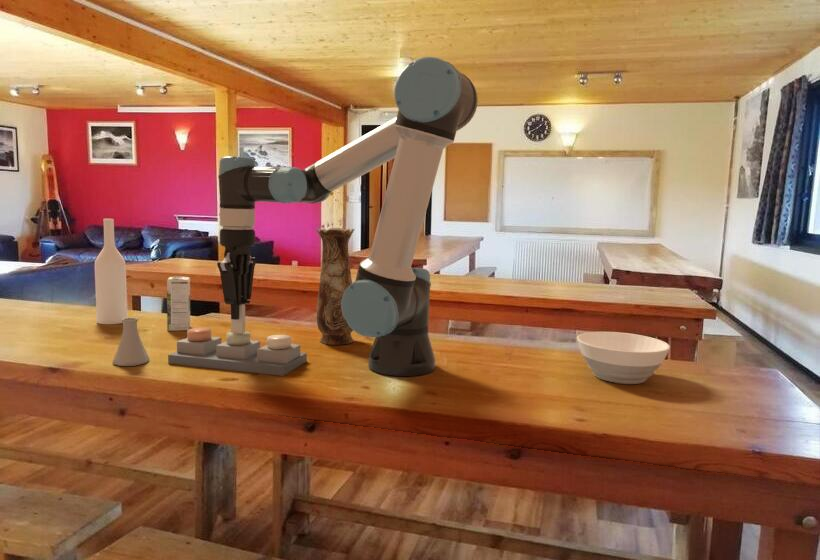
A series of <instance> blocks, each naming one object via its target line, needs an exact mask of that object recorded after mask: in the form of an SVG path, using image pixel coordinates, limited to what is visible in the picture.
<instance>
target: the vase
mask: <svg viewBox="0 0 820 560" xmlns="http://www.w3.org/2000/svg"><path fill="white" fill-rule="evenodd" d="M315 230H316V231H317V233H318V235H319V237H320V239H321V241H322V245H321V246H322V250H321V251H322V252H321V253H322V254H321V255H322V256H321V267H320V278H319V284H318V295H317V304H316V324H317V329H318V331H319V332H320V333H321V337H320V341H319V342H320V343H322V344H324V345H329V346H330V345H332V346H333V345H334V346H337V345H339V346H340V345H347V344H352V343H353V342H354V339H353V337H352V332H353V331H354V330H352V329H351V328H350V327H349V325H348V323H347V322H346V320H345V319H344V317H343V314H342V309H341V301H342V296H343V294H344V292H345V290H346V289H347V288H348V287H349V285H351V284H352V283H353V279H352V272H351V264H350V255H349V240H350V239H351V236H352V235H353V233H354V231H355V228H346V229H344V228H342V227H330V228H328V229H325V228H321V229H320V228H318V227H317V228H316V229H315Z"/></svg>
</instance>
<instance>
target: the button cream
mask: <svg viewBox="0 0 820 560" xmlns="http://www.w3.org/2000/svg"><path fill="white" fill-rule="evenodd" d="M291 344H292V336H290V335H287V334H272V335H269V336H267V337H266V345H267V347H268V348H271V349H282V350H283V349H286V348H289V347H291Z"/></svg>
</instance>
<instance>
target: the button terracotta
mask: <svg viewBox="0 0 820 560" xmlns="http://www.w3.org/2000/svg"><path fill="white" fill-rule="evenodd" d="M186 334H187V337H186V338H187V339H188V340H189V341H199V342H202V341H206V340H210V339H211V337H212V328H210V327H194V328H189V330H186Z"/></svg>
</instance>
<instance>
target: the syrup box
mask: <svg viewBox="0 0 820 560" xmlns="http://www.w3.org/2000/svg"><path fill="white" fill-rule="evenodd" d="M166 317H167V318H166V319H167V322H166V323H167V324H166V326H167V327H166V329H167V332H175V331H176V332H178V331H180V332H183V331H187V330H189V329H191V328H190V327H191V277H189V276H169V277H168V279H167V280H166Z"/></svg>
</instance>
